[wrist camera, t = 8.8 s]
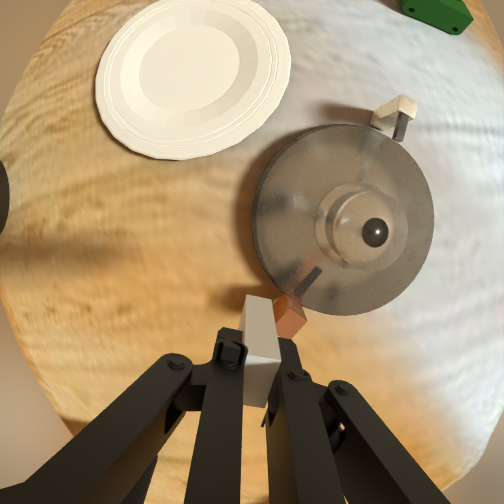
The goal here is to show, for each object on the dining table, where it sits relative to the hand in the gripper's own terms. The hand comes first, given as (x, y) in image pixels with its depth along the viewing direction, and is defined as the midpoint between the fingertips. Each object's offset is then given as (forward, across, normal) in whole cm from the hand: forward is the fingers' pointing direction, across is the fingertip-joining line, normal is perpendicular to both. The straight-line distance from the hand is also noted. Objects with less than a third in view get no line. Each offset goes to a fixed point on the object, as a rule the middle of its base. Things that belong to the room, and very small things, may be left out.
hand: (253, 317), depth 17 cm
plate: (+19, -13, +21) cm, 31 cm away
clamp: (+18, +18, +44) cm, 51 cm away
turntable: (+16, +10, +5) cm, 19 cm away
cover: (+15, +10, +6) cm, 19 cm away
